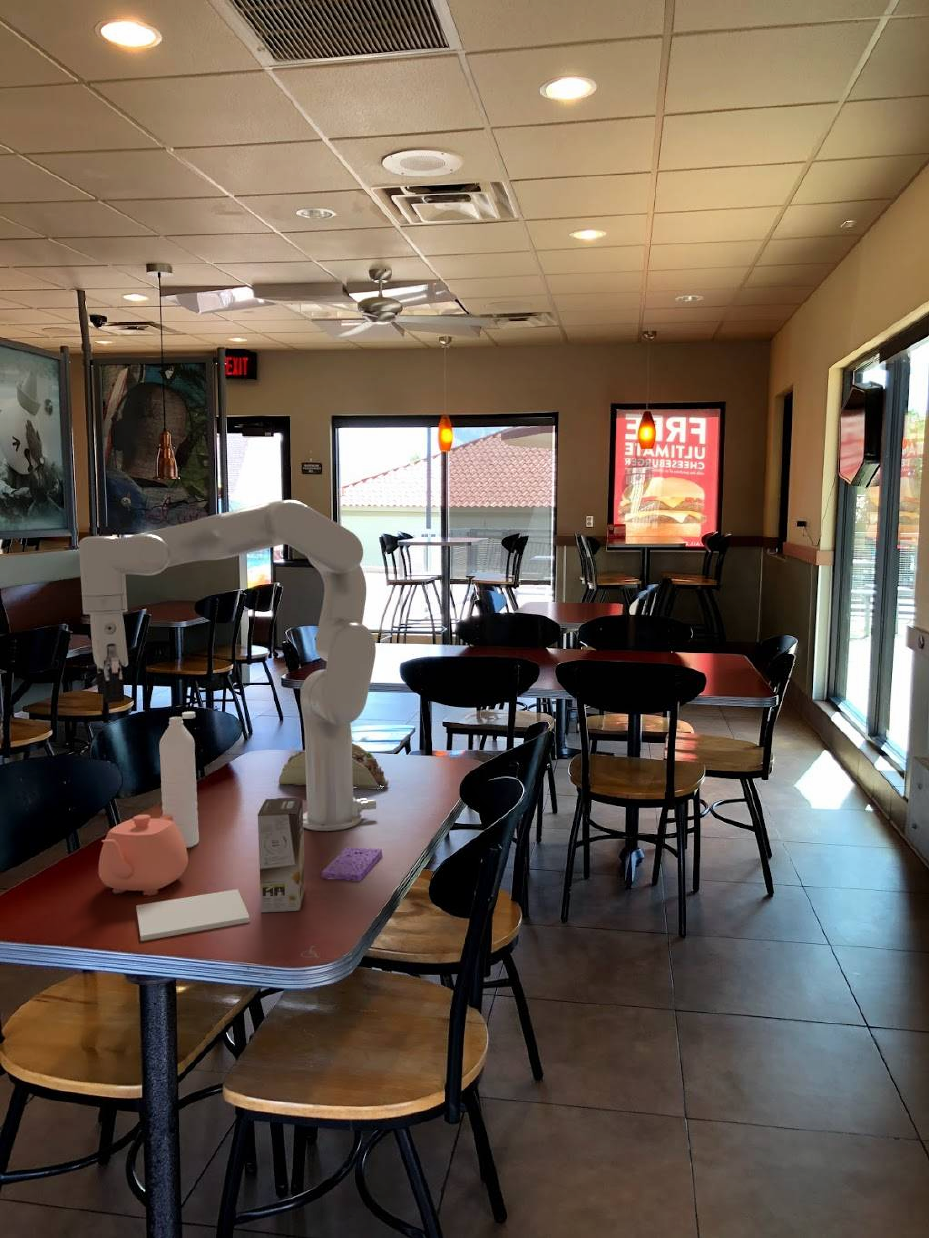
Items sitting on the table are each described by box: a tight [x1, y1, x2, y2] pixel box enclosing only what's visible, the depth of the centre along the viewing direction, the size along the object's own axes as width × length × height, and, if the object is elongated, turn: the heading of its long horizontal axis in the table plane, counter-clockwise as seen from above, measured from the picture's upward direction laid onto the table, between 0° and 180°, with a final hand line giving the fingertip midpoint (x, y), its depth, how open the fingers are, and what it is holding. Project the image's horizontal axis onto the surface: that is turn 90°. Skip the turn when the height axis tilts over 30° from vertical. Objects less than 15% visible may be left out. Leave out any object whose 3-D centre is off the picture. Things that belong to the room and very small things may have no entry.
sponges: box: [321, 846, 383, 882], centre depth 165 cm, size 7×13×2 cm, turn 167°
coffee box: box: [257, 797, 306, 913], centre depth 150 cm, size 9×6×16 cm
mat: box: [135, 888, 251, 942], centre depth 145 cm, size 16×12×1 cm
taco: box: [278, 742, 390, 790], centre depth 217 cm, size 10×27×10 cm, turn 78°
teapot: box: [98, 814, 189, 897], centre depth 157 cm, size 13×20×12 cm
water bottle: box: [158, 711, 200, 849], centre depth 178 cm, size 9×6×25 cm
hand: (110, 697), depth 169 cm, fingers open, 9 cm apart
